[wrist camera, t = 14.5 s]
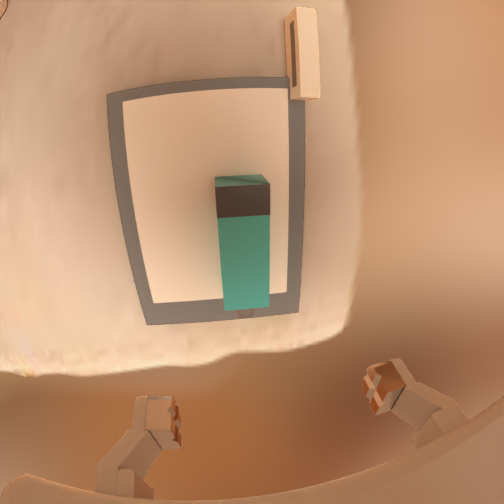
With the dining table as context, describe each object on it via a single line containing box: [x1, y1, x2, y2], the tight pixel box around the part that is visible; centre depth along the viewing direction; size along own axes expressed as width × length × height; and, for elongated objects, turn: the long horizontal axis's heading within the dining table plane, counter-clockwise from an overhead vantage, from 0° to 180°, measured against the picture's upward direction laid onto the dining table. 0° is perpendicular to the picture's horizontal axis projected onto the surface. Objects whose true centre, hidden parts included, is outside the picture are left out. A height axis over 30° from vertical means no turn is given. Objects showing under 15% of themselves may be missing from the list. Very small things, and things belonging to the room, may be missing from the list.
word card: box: [284, 6, 321, 101], centre depth 19 cm, size 8×2×4 cm, turn 2°
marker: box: [215, 174, 270, 318], centre depth 25 cm, size 13×4×4 cm, turn 1°
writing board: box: [107, 77, 305, 325], centre depth 26 cm, size 24×17×1 cm
